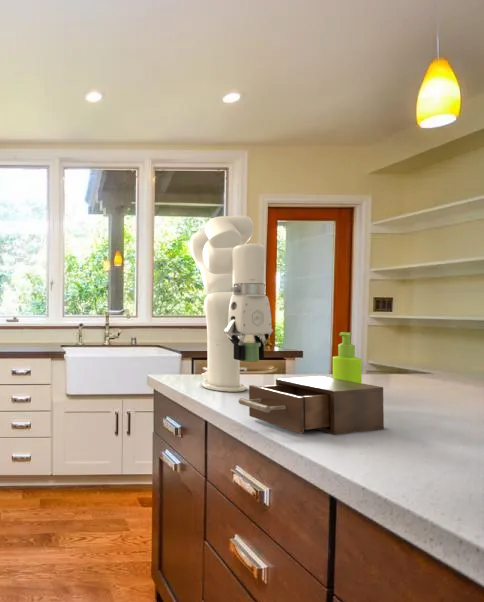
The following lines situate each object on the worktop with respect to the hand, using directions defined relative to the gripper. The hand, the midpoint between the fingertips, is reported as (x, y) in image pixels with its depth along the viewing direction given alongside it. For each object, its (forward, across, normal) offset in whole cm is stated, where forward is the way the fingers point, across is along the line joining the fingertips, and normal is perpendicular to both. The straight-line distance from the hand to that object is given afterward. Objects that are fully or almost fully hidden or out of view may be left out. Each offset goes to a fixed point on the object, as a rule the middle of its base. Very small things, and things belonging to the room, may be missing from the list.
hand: (248, 358), depth 97 cm
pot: (+1, 0, 0) cm, 1 cm away
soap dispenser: (+13, +26, -6) cm, 30 cm away
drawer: (+12, -4, -14) cm, 19 cm away
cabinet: (+13, +8, -14) cm, 21 cm away
